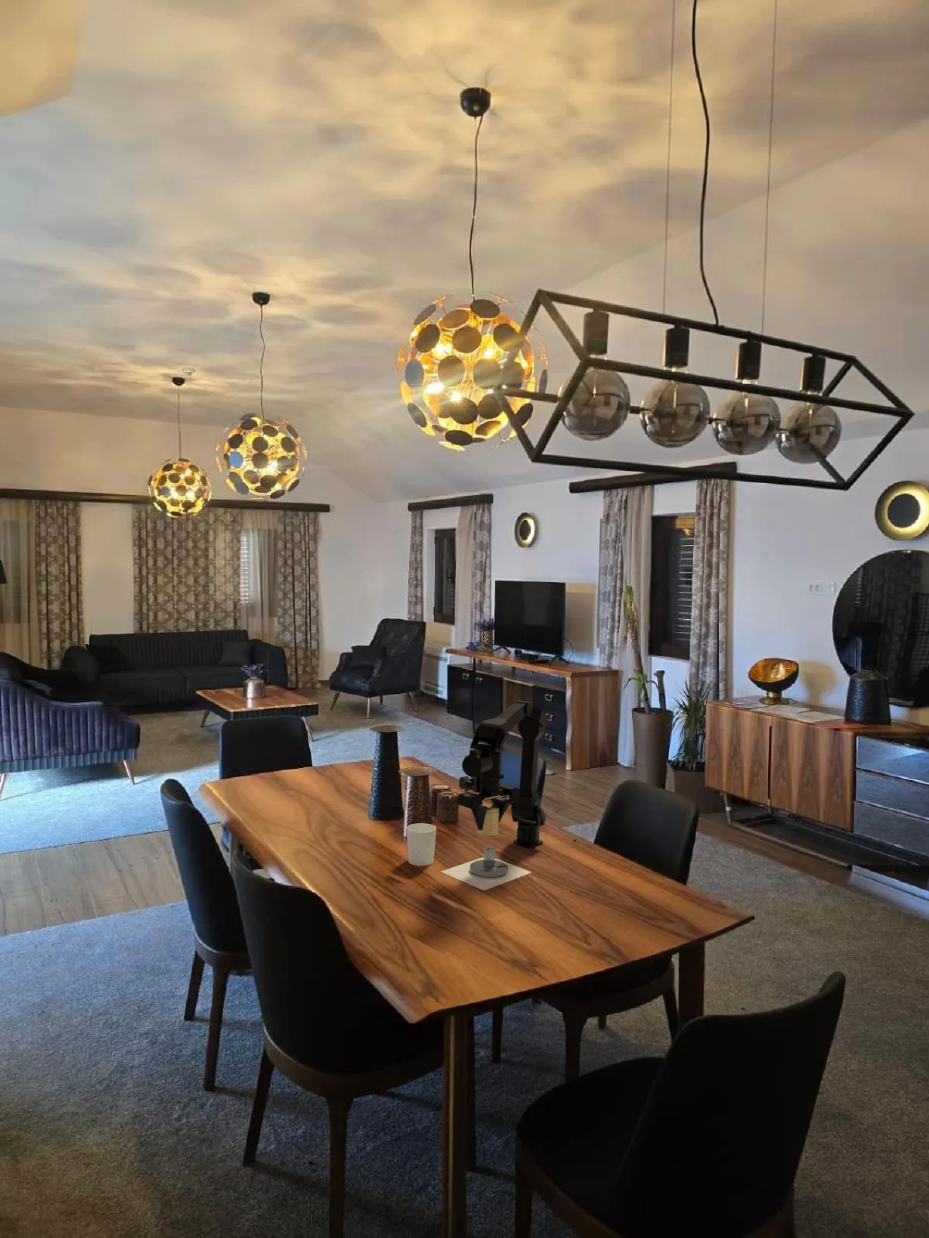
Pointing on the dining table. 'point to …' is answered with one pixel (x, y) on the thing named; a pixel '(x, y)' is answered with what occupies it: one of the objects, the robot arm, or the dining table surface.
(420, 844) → the white cup
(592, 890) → the dining table surface
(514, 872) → the board
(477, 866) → the metal disc with knob
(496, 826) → the brown and gold cylinder
